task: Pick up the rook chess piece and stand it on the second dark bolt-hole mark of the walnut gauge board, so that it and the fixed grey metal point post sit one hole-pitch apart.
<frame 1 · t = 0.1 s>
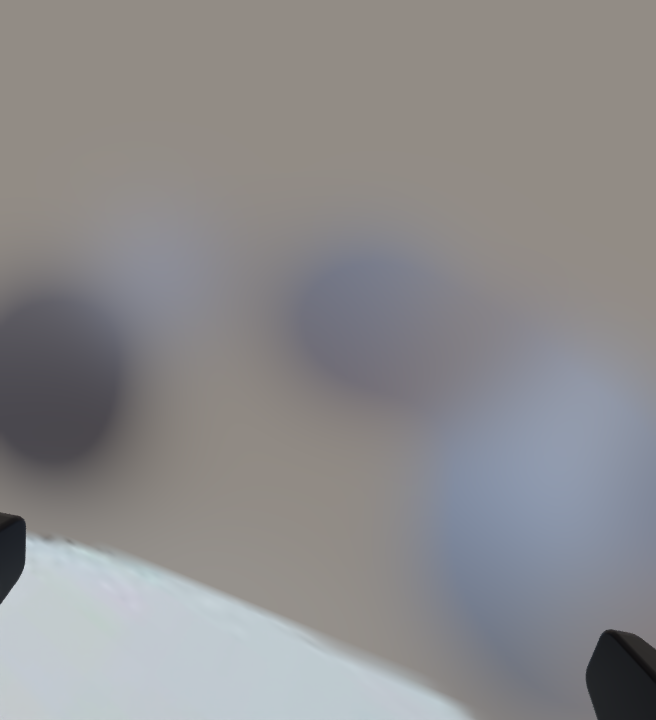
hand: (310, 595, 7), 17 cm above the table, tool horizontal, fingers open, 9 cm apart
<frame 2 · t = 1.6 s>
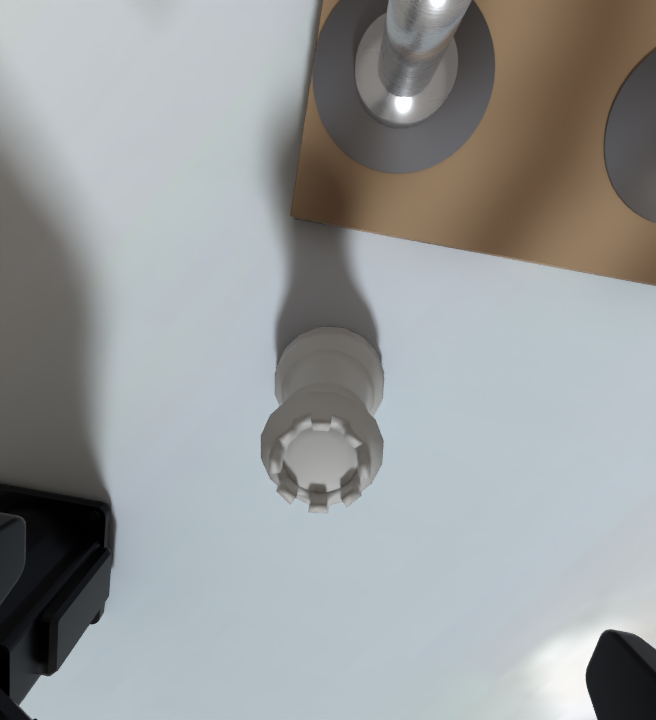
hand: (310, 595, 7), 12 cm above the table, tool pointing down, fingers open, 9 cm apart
gauge board: (534, 115, 16), on the table
point post: (398, 90, 16), resting on gauge board
rook chess piece: (330, 375, 18), on the table
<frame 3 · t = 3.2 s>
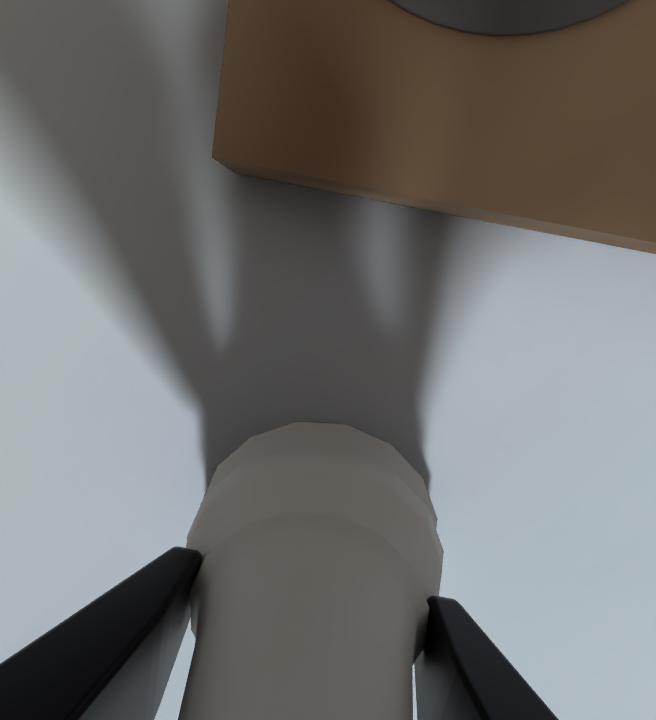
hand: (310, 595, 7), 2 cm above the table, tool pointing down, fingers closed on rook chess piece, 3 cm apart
rook chess piece: (319, 510, 9), on the table, touching gripper
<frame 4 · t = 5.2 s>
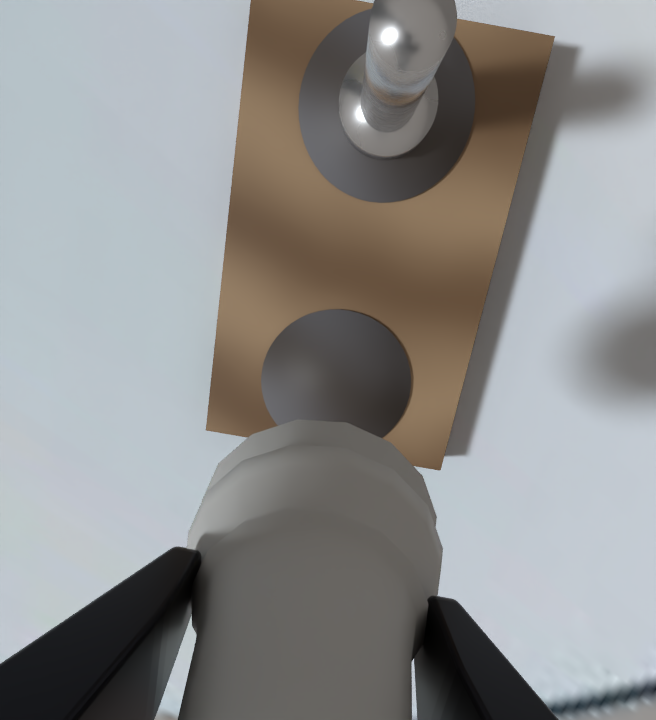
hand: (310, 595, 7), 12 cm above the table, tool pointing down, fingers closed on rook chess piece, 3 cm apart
gauge board: (357, 256, 17), on the table
point post: (382, 120, 16), resting on gauge board
rook chess piece: (319, 508, 9), point 10 cm above the table, touching gripper
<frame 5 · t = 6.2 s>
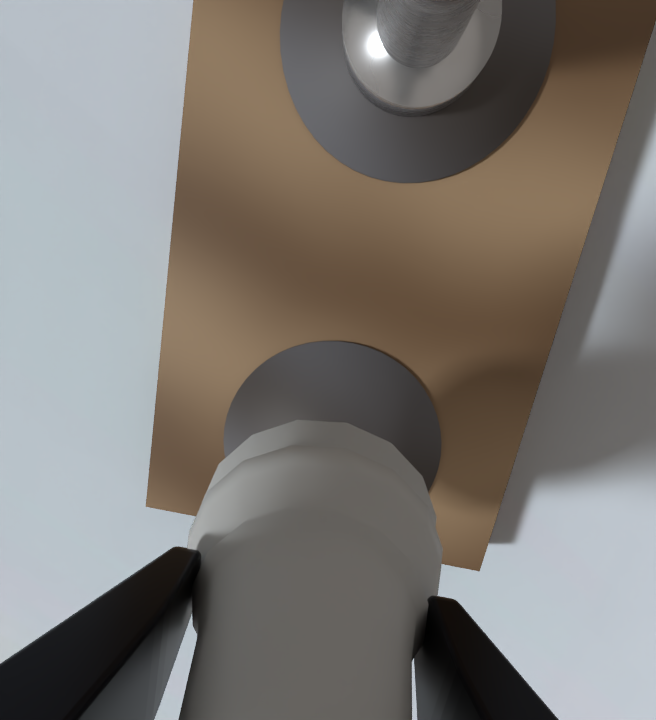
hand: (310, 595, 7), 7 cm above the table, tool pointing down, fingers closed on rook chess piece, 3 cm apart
gauge board: (366, 264, 12), on the table
point post: (407, 62, 11), resting on gauge board
rook chess piece: (319, 508, 9), point 4 cm above the table, touching gripper
when the fingers open (4 cm above the table, at t = 7.0 s): rook chess piece stays where it is, resting on gauge board.
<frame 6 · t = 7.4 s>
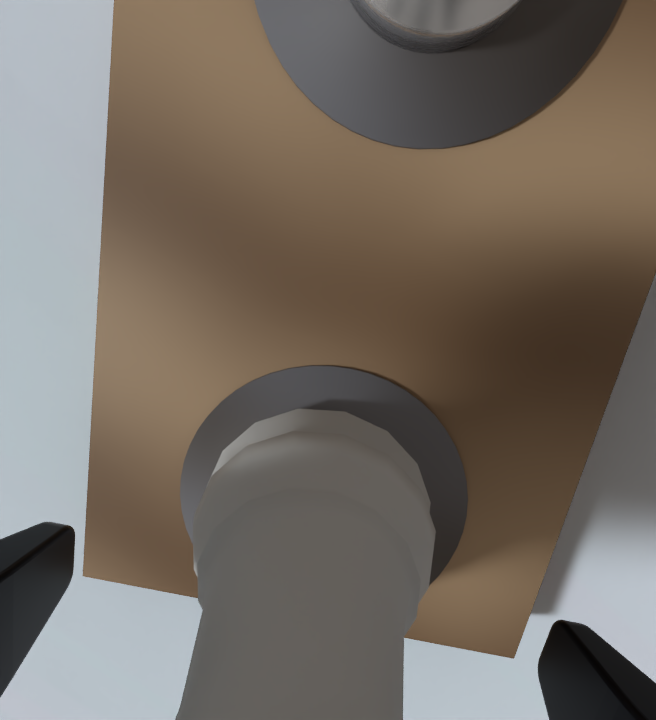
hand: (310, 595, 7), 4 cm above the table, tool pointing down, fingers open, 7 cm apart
gauge board: (368, 262, 9), on the table
rook chess piece: (318, 495, 9), point 1 cm above the table, touching gauge board
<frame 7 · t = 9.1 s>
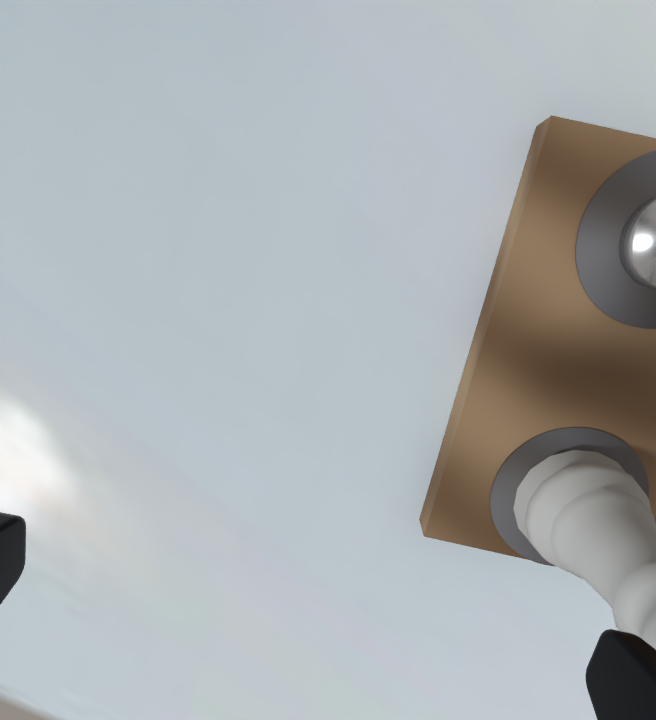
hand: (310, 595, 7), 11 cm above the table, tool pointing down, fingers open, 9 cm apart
gauge board: (595, 371, 17), on the table
point post: (642, 243, 16), resting on gauge board
rook chess piece: (564, 494, 17), point 1 cm above the table, touching gauge board
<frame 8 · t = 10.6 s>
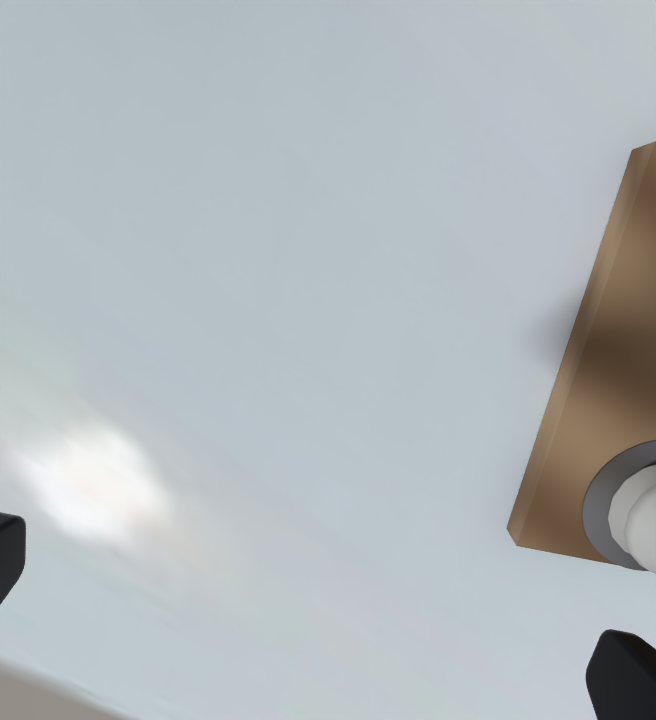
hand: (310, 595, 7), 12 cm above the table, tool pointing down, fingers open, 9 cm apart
rook chess piece: (654, 503, 18), point 1 cm above the table, touching gauge board
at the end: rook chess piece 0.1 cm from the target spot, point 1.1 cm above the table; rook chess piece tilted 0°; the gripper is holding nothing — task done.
